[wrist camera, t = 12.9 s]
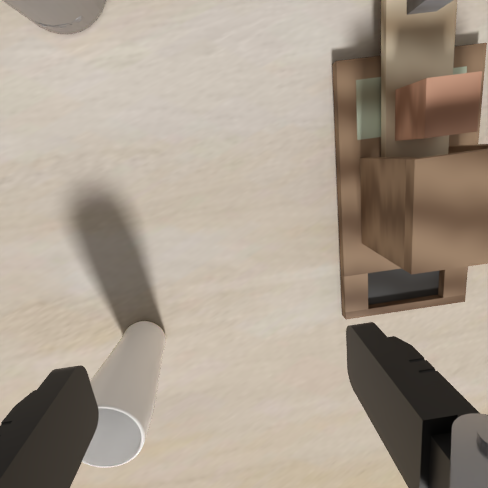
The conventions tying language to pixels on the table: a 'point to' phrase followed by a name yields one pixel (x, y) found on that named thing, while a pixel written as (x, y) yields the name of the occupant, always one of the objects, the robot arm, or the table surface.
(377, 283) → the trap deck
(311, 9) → the table surface
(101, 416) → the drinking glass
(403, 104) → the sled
